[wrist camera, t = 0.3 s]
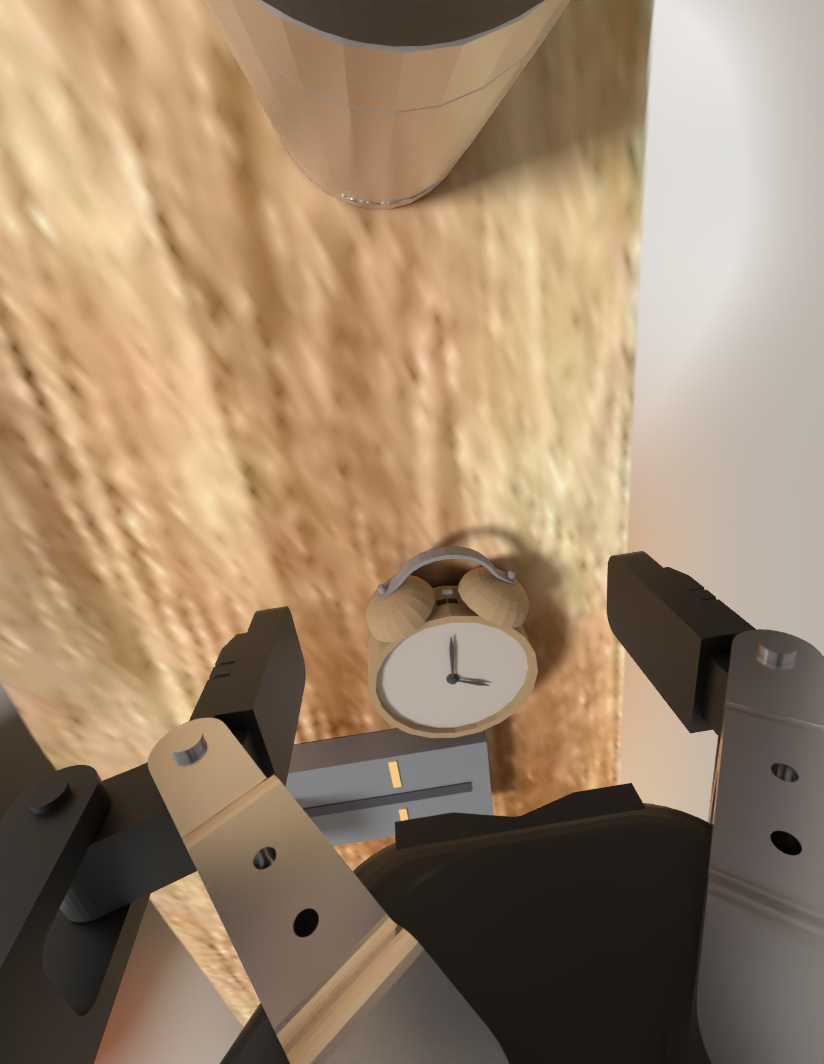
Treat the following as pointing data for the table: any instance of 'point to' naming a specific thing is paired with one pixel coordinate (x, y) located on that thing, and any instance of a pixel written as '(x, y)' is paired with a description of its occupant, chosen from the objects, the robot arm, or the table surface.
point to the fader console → (387, 781)
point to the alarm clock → (449, 649)
